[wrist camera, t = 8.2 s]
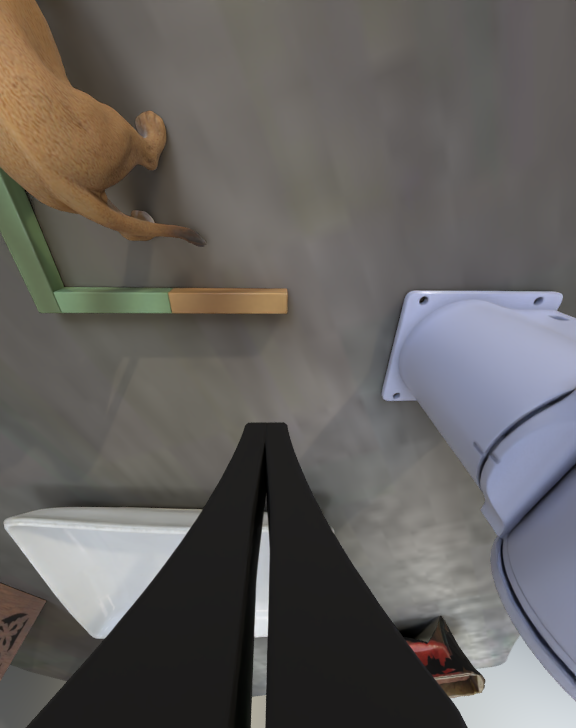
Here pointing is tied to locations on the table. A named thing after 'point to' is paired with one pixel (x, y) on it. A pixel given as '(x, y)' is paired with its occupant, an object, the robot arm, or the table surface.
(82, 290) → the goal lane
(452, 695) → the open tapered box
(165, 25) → the table surface
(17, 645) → the tissue box cover
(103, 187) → the lion figurine
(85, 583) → the square plate
